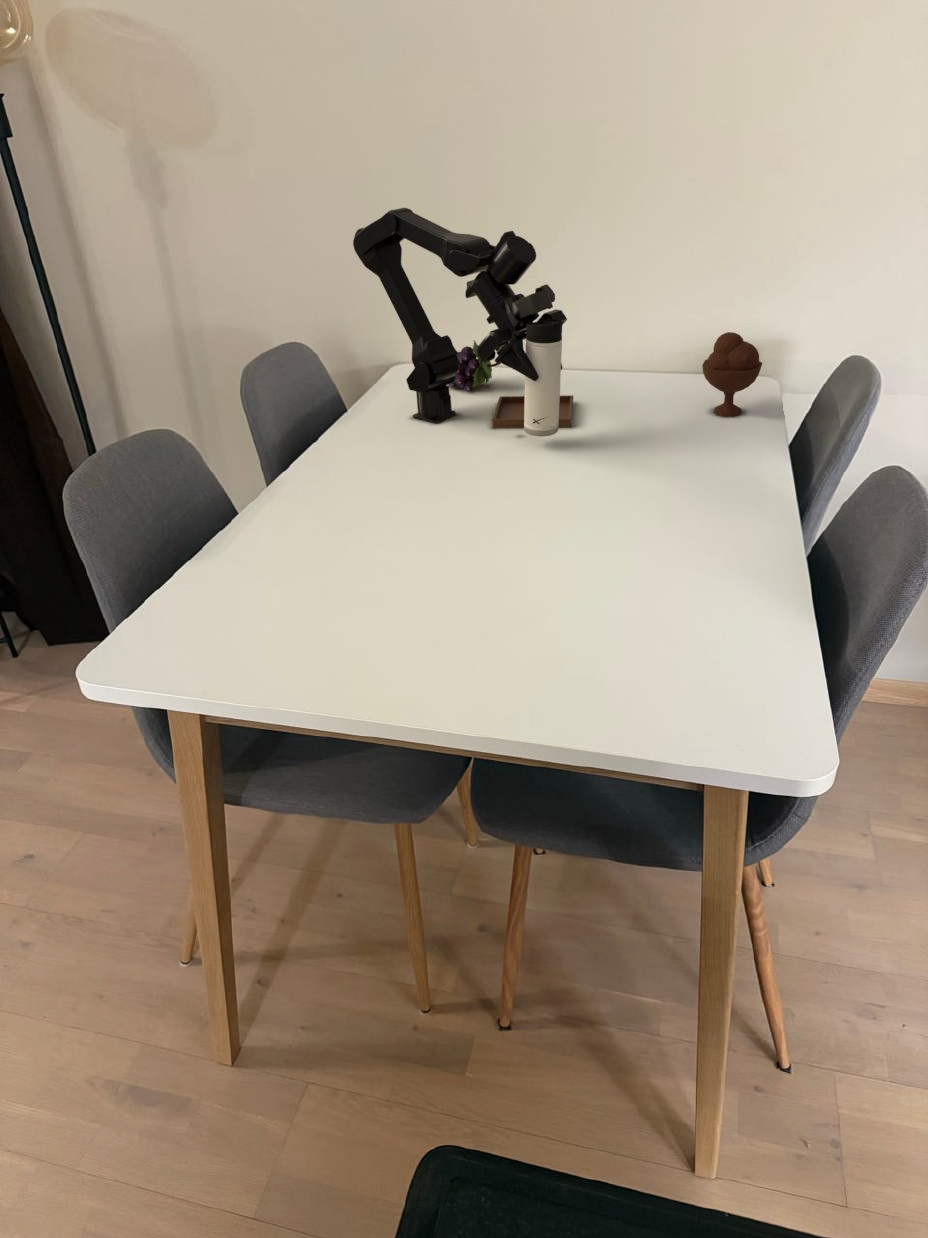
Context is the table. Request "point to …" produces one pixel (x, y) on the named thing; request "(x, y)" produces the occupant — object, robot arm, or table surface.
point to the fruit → (472, 369)
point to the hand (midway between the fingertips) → (548, 374)
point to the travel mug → (543, 377)
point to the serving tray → (513, 412)
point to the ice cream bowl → (731, 370)
